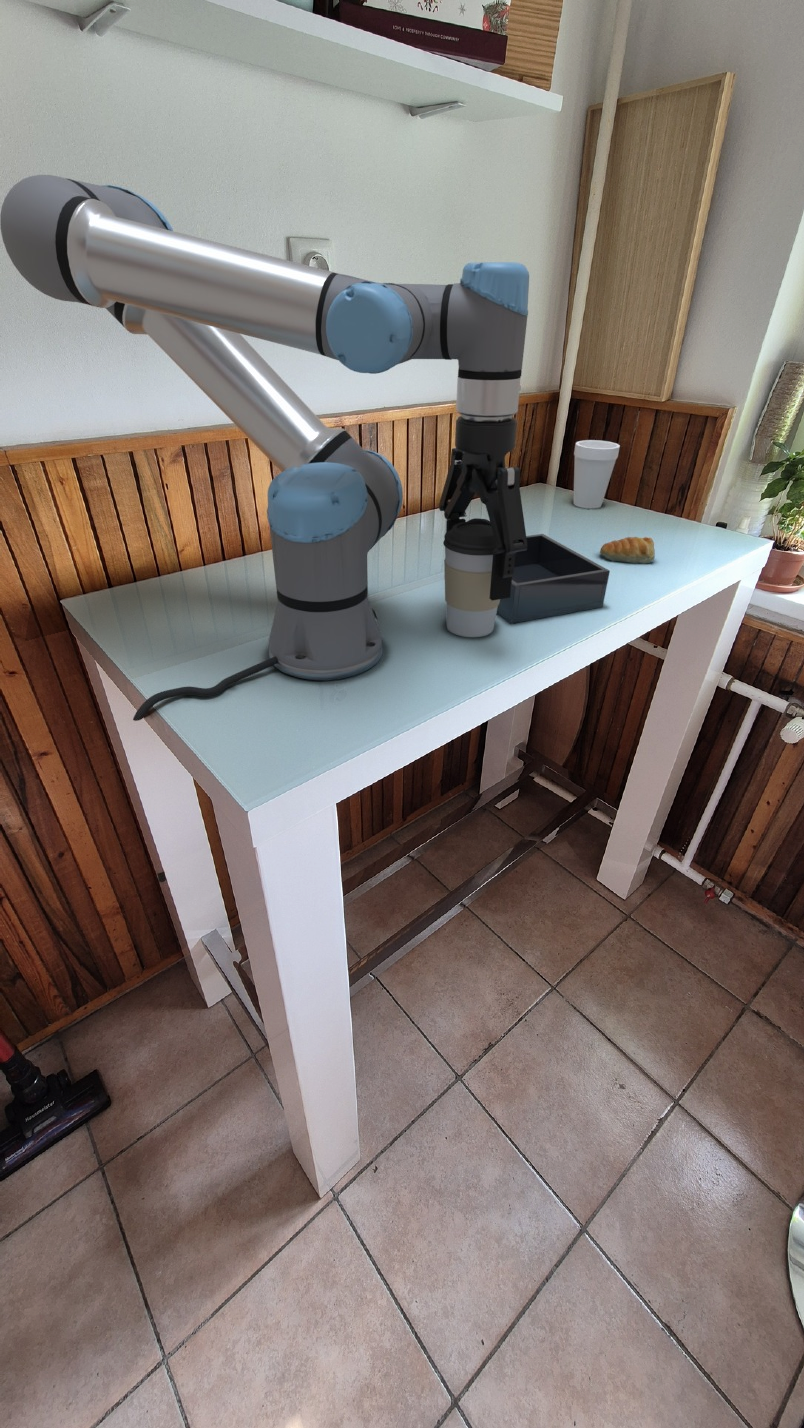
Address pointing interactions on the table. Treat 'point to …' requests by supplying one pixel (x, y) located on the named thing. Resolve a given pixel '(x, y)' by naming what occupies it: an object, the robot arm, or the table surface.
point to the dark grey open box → (552, 582)
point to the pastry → (630, 550)
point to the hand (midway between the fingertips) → (475, 580)
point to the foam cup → (593, 471)
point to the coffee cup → (469, 578)
